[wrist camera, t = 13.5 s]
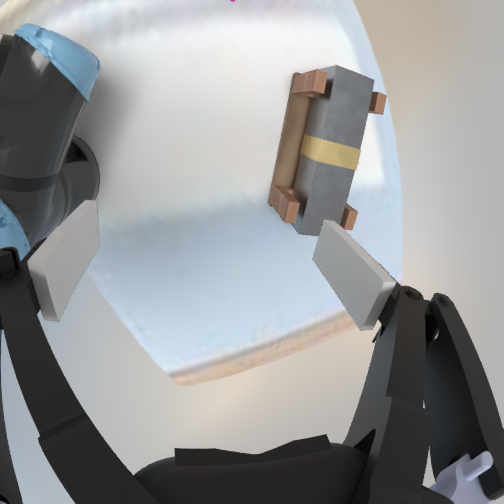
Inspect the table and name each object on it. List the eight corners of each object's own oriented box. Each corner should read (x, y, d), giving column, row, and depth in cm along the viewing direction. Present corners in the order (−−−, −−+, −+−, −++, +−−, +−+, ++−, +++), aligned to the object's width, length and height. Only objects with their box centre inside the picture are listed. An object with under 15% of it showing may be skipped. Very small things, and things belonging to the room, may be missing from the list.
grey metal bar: (320, 221, 45) (336, 238, 40) (285, 217, 44) (298, 234, 38) (353, 81, 34) (375, 80, 29) (317, 69, 33) (336, 64, 28)
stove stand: (267, 203, 46) (283, 225, 38) (293, 73, 36) (317, 65, 28) (326, 210, 48) (351, 233, 40) (354, 92, 38) (387, 92, 30)
